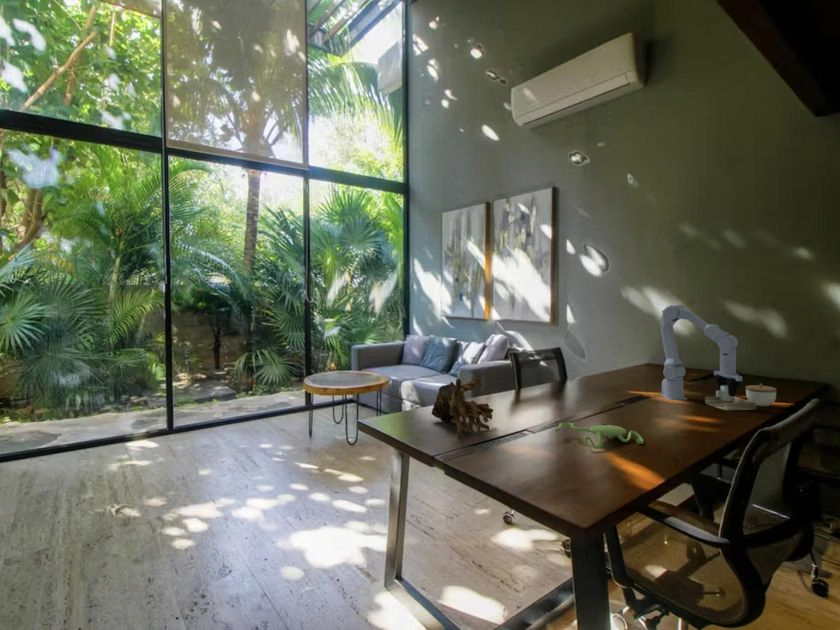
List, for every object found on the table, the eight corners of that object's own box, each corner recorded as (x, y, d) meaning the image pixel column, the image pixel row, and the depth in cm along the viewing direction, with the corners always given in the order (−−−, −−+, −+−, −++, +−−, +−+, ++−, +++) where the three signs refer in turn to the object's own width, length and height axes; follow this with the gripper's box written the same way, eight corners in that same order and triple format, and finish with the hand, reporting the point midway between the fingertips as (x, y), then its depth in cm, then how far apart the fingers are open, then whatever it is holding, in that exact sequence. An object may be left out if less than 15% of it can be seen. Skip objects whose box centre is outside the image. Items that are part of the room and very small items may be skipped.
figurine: (549, 437, 159) (549, 422, 159) (611, 429, 167) (610, 414, 167) (583, 454, 141) (583, 437, 141) (650, 444, 150) (650, 427, 149)
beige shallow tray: (703, 403, 200) (703, 396, 200) (732, 402, 201) (732, 395, 201) (725, 411, 187) (725, 403, 187) (755, 410, 187) (755, 403, 187)
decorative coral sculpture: (456, 394, 194) (512, 391, 172) (445, 447, 184) (503, 450, 163) (414, 371, 180) (470, 364, 159) (399, 427, 171) (457, 427, 149)
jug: (713, 398, 196) (713, 385, 196) (728, 398, 196) (728, 384, 196) (720, 401, 191) (721, 387, 191) (737, 400, 191) (737, 386, 191)
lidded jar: (765, 402, 200) (765, 381, 200) (782, 408, 189) (782, 386, 189) (740, 402, 201) (740, 381, 201) (755, 408, 190) (755, 386, 190)
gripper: (749, 366, 186) (749, 398, 187) (724, 360, 200) (724, 390, 201) (733, 366, 186) (732, 398, 186) (709, 361, 200) (709, 391, 201)
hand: (727, 394), depth 194 cm, fingers closed on jug, 5 cm apart
